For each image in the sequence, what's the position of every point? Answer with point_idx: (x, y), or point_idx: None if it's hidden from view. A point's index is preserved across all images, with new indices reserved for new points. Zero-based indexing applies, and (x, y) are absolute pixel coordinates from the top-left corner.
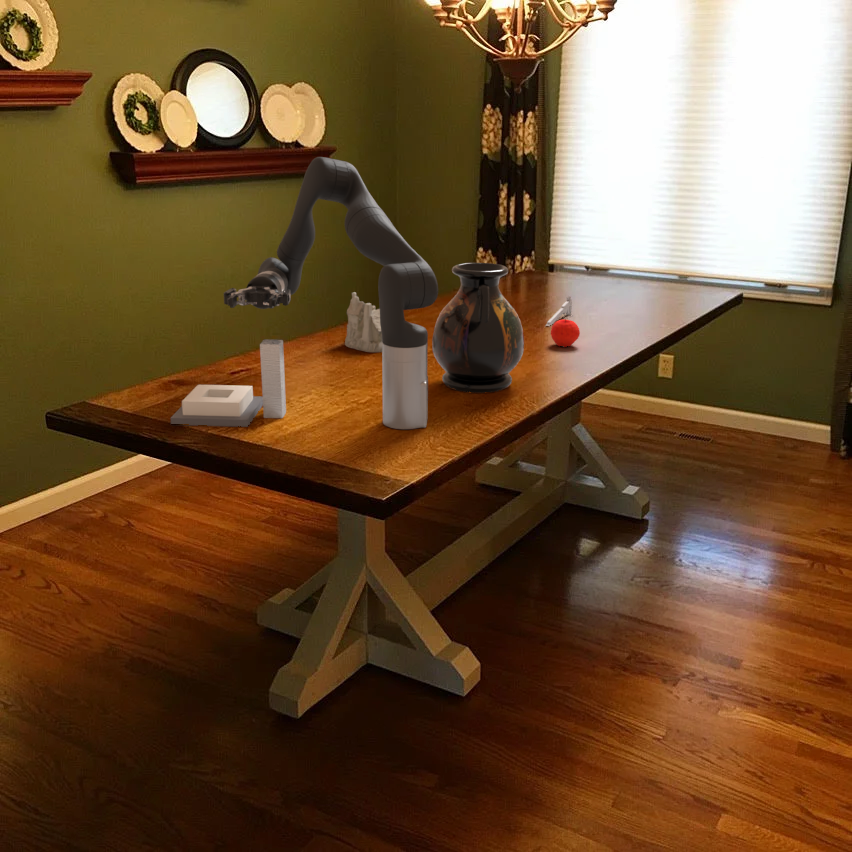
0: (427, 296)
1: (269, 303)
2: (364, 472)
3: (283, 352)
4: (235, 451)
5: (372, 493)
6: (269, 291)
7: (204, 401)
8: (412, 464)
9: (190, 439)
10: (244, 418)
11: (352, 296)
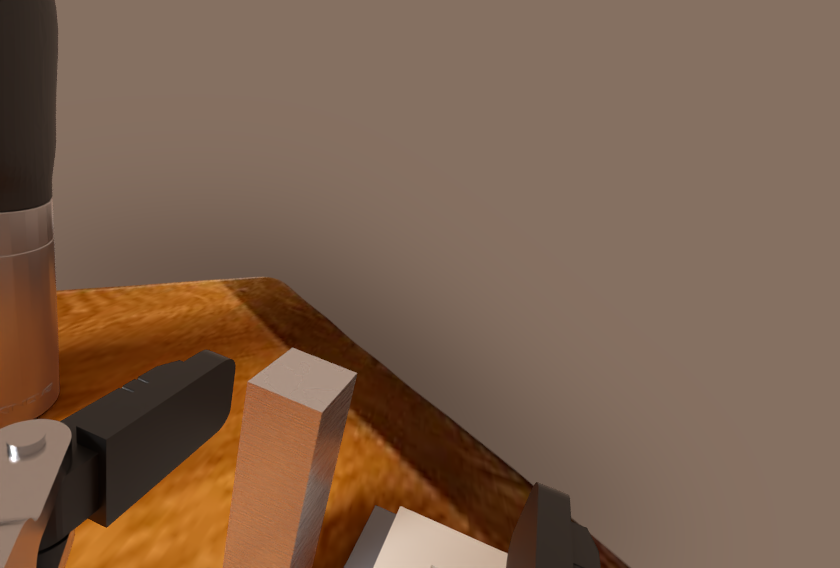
0: None
1: (229, 384)
2: (254, 309)
3: (242, 426)
4: (413, 416)
5: (278, 284)
6: (18, 542)
7: (501, 554)
8: (176, 299)
9: (501, 495)
10: (381, 517)
11: None
